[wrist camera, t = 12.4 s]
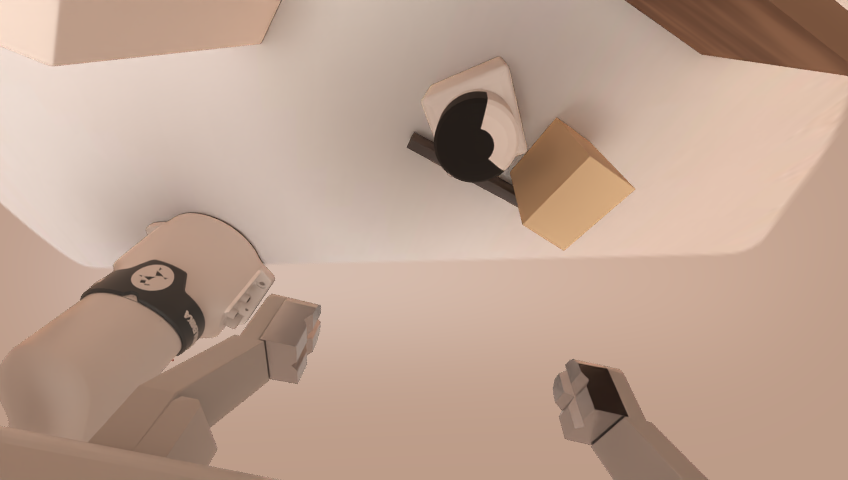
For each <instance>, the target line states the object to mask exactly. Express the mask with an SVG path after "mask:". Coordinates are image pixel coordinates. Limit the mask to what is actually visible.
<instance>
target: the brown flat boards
mask: <svg viewBox="0 0 848 480" xmlns="http://www.w3.org/2000/svg"><path fill="white" fill-rule="evenodd" d="M625 1H627V2H628V3H630V4H631V5H632V6H634V7H635V8H637V9H638V10H640V11H641V12H642V13H644V14H645V15H647V16H648V17H649V18H651V19H652V20H654V21H655V22H656V23H658V24H659V25H661V26H662V27H663V28H665V29H666V30H668V31H669V32H671V33H672V34H673V35H675V36H676V37H678V38H679V39H680V40H682V41H683V42H685V43H686V44H687V45H689V46H690V47H692V48H693V49H695V50H696V51H697V52H699V53H700V54H702V55H709V56H716V57H723V58H730V59H736V60H743V61H750V62H757V63H764V64H771V65H777V66H784V67H791V68H798V69H805V70H812V71H818V72H825V73H832V74H839V75H846V76H848V11H847V10H846V9H845V8H844V7H842V6H841V5H840V4H839V3H838V2H836V1H835V0H625ZM407 148H409V149H410V150H412V151H414V152H416V153H418V154H420V155H422V156H424V157H425V158H427V159H429V160H431V161H432V162H434V163H436V164H438V165H439V166H441V165H440V163H439V162H438V159H437V157H436V154H435V150H434V143H433V142H432V141H430V140H428V139H426V138H424V137H422V136H421V135H419V134H417V133H415V132H414V133H413V135H412V137H411V139H410V141H409V143H408V145H407ZM441 167H442V166H441ZM472 183H473V182H472ZM474 184H476V185H478V186H480V187H481V188H483V189H485V190H487V191H489V192H491V193H493V194H495V195H496V196H498V197H500V198H502V199H504V200H506V201H507V202H509V203H511V204H512V205H514V206H516V207H518V204H517V200H516V196H515V192H514V187H513V186H512V185H510V184H509V183H507V182H505V181H503V180H501V179H499V178H498V177H495V178H493V179H490V180H487V181H484V182H475V183H474Z"/></svg>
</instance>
